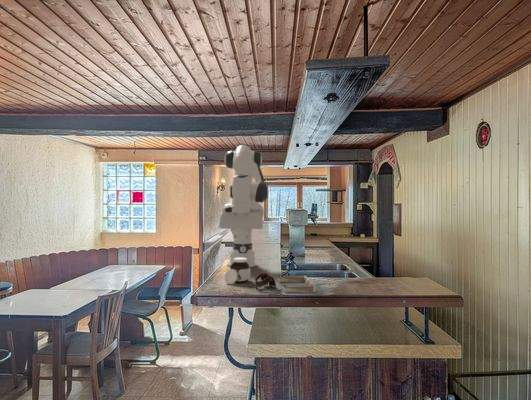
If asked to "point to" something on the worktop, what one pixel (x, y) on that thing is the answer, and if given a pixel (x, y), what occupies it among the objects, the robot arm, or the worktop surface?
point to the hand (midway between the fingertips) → (240, 238)
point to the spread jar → (238, 271)
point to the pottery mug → (264, 280)
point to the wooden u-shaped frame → (309, 288)
